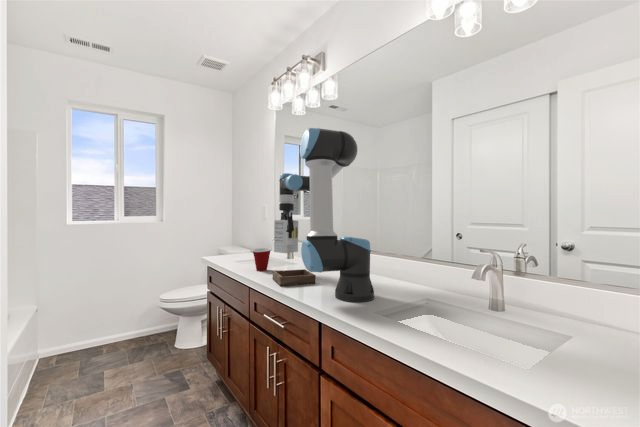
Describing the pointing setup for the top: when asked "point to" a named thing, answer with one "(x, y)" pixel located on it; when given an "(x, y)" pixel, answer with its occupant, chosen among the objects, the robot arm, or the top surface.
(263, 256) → the plastic cup
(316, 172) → the robot arm
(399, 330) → the top surface
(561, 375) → the top surface
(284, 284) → the wooden tray
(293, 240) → the supplement box
